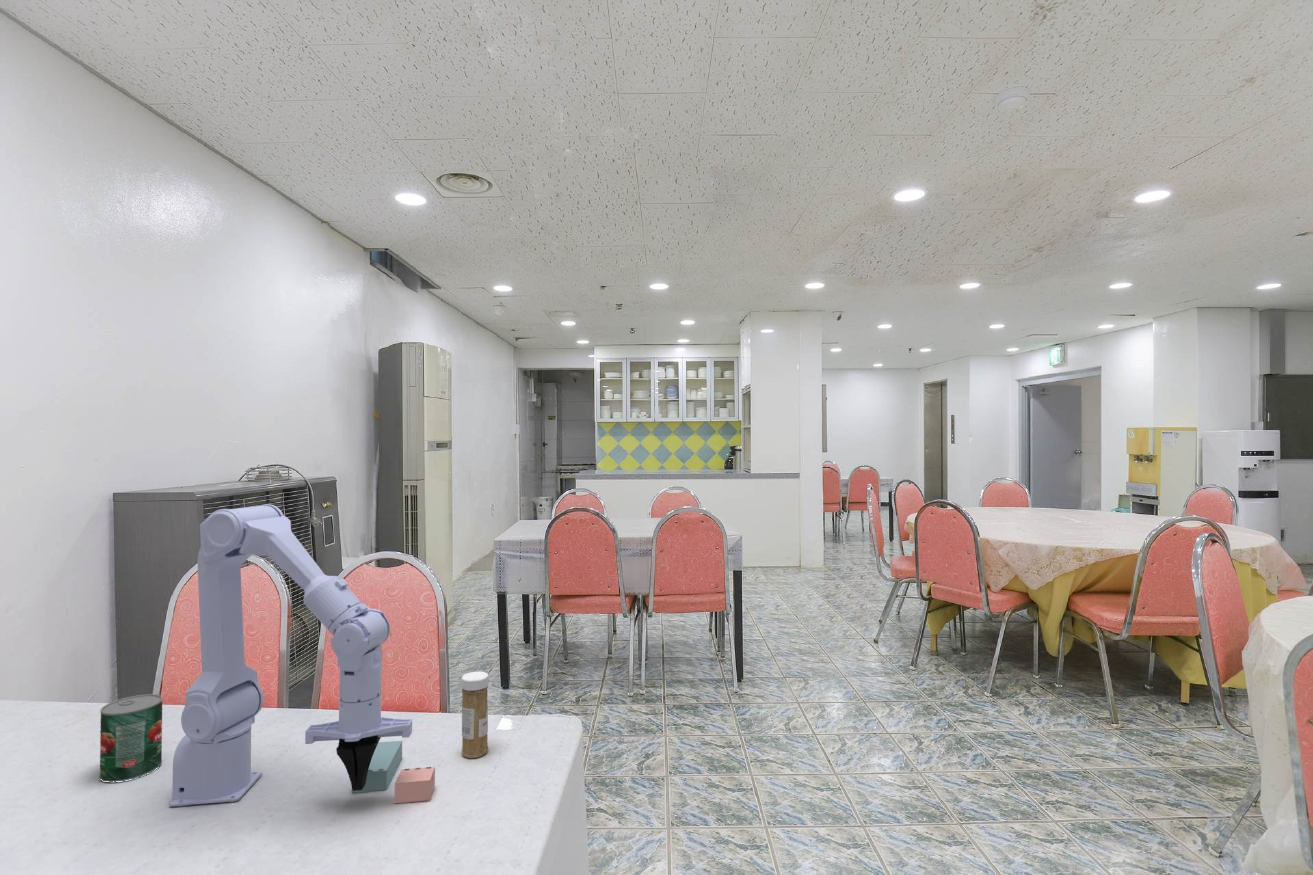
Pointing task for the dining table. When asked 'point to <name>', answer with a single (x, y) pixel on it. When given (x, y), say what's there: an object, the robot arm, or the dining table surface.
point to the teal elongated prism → (383, 766)
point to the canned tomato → (130, 737)
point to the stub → (414, 785)
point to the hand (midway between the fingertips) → (359, 786)
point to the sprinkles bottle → (474, 714)
